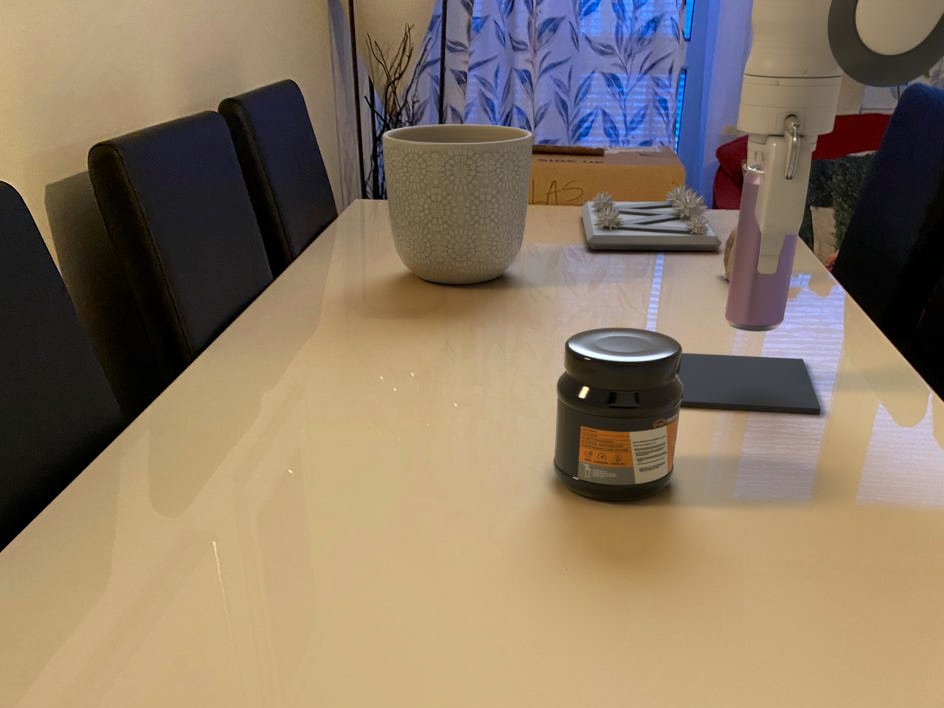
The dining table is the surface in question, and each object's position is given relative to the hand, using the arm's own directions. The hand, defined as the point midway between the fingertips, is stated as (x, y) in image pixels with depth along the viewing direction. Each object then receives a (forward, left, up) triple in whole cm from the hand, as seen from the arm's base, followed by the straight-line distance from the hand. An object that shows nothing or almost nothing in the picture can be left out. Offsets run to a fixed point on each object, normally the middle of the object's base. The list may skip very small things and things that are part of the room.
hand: (762, 263), depth 100 cm
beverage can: (0, 0, -6) cm, 6 cm away
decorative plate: (+12, -76, -13) cm, 78 cm away
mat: (0, 0, -13) cm, 13 cm away
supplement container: (+13, +27, -13) cm, 33 cm away
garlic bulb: (-3, -45, -13) cm, 47 cm away
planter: (+39, -42, -13) cm, 59 cm away
